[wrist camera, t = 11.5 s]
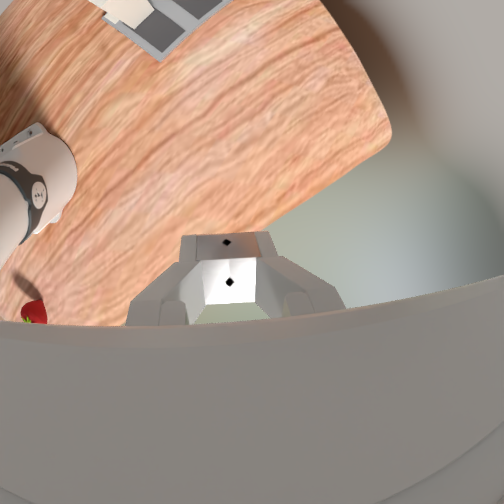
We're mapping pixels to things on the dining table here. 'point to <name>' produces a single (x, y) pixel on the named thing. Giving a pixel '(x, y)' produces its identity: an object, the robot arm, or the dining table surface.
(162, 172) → the dining table surface
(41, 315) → the strawberry
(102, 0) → the cream tall block
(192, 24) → the switch base
